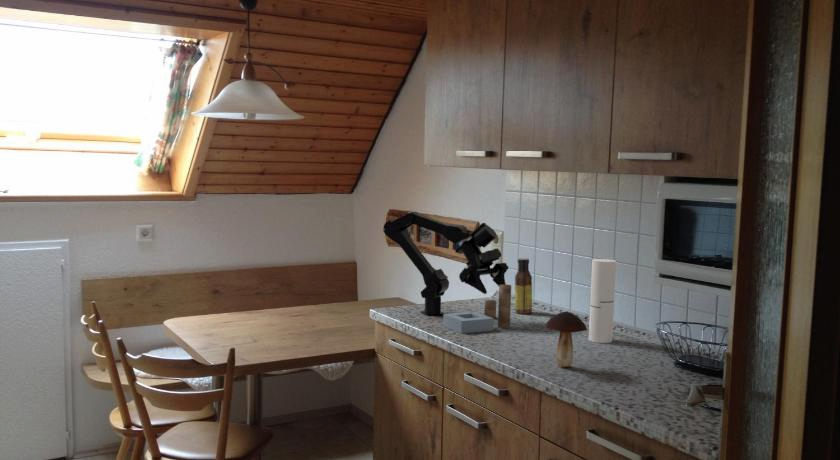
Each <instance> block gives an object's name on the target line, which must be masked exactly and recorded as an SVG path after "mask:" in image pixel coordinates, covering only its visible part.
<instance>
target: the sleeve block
mask: <svg viewBox="0 0 840 460" xmlns="http://www.w3.org/2000/svg"><path fill="white" fill-rule="evenodd" d="M442 319H443V321H442V322H443V323H442V327H445V328H447V329H449V330H452V331H454V332H457V333H459V334H469V333H479V332H482V333H483V332H489V331H490V332H491V331H494V325H495V322H494V321H495V320H494V318H491V317H489V316H486V315H484V313H480V312H477V311H463V312H453V313H452V312H451V313H450V312H449V313H444V314H443V316H442Z"/></svg>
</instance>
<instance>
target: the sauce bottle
mask: <svg viewBox="0 0 840 460" xmlns="http://www.w3.org/2000/svg"><path fill="white" fill-rule="evenodd" d="M517 263H518V265H517V266H518V267H517V268H518V269H517V272H516V273H515V276H514V277H515V278H514V282H515V283H514V310H515V313H517V314H521V315H522V314H523V315H529V314H532V311H533V309H532V308H533V283H532V281H533V277H532V274H531V272H530V270H529V269H530V268H529V263H530V259H529V258H524V257H520V258H519V257H518V258H517Z"/></svg>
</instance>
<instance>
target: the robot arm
mask: <svg viewBox="0 0 840 460" xmlns="http://www.w3.org/2000/svg"><path fill="white" fill-rule="evenodd" d="M413 225H415V226H418V227H421V228H423V229H426V230H429V231H431V232H434V233H437V234H439V235H440V236H442V237H443V238H444V239H446V240H448V241H449V242H451V243H453V244H458V243H461V244H460V245H456V248H455V253H456V254H460V255H462V254H463V256H464V258H465V259H466V261H467V262H466V266H465V267H464V268H463V269H462V270H461V272H460V273H459V277H458V278H459V280H460V282H461V283H464V284H467V285H469V286H471V287H473V288H474V289H476V290H477V291H479V292H481V293H482V294H484V295H486V294H488V291H487V289H486V286H485V285H484V283H483V281H482V279H481V276H486V275H489V276H490V278H492V281H493V282H494V283H495V284H496V285H497V286H498V287H499V285H502V284H506V279H505V274H506V273H507V272H508V269H509V265H507V263H506V262H497V263H495V265H493V264H494V262H495V261H498V260H500V258H501V257H502V253H501V250H500V249H499V248H493V249H491V250H487V251H484V252H482V250H481V249H480V248H486V247H487V246H489V245H490V244H491V242H493V241H494V240H495V239H497V237H498V234H497V233H496V231H495V230H494V228H492V227H491V226H489V225H488V224H486V223H485V222H482V223H481V224H479V226H478V227H477V228H476V229H475V230H470V229H468V228H467V227H466V226H464V225H460V224H456V223H447V222H442V221H440V220H437V219H435V218H432V217H429V216H426V215H424V214H420V213H418V212H417V211H409V212H407V213H406V214H405V215H403V216H400V217H397V218H396V219H392V220H387V221H386V222H385V223H384V224H383V229H382V230H383V233H384V235H385V236H386V237H388V239H390V240H391V241H392V242H394V243H395V244H396V245H397V244H398V246H399V247H400V249H402V251H403V252H404V253H405V255H406V257H408V259H409V260H410V262H412V264H413V266H415V267H416V268H417V270H418V272H419V274H421V275H422V278H423V279H422V280H423V282H424V285H425V287H424V288H423V289H422V290H421V291H420V296H421V299H424V310H421V311H420V313H422V314H423V315H426V316H442V315H443V314H445V312H443V311H441V310H442V297H443V296H444V295H445V293H446V291H447V290H448V289H449V286H450V281H449V279H448V278H449V276H448V275H446V274H445V272H444V270H443V269H442V268H439V269H436V268H434V267H433V266H432V264H431V263H430V262H429V261H428V259H427V258H426V257H425V255H424V254H423V253H422V252H421V250H420V249H419V248H418V247H417V244H415V243H414V241H413V240H412V239H411V237H410V234H409V228H410V227H412V226H413ZM492 265H493V267H491V266H492Z"/></svg>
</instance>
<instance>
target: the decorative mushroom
mask: <svg viewBox="0 0 840 460" xmlns="http://www.w3.org/2000/svg"><path fill="white" fill-rule="evenodd" d="M545 328H546V329H548V330H553V331H556V332H557V331H558V332H559V337H558V342H557V347H556V348H557V349H556V351H557V352H556V363H557V364H558V365H559V366H560V367H562V368H568V367H571V365H572V364H573V359H574V357H573V356H574V348H573V347H574V346H573V338H572V337H573V335H572V334H573V333H577V332H578V333H581V332H585V331H588V329H587V326H586V324H585V323H584V321H583V320H582V319H581V318H580V317H578V316H577V315H576V314H574V313H572V312H569V311H562V312H559V313H557V314H555V315H553V316H551V318H549V319H548V321H547V322H546V323H545Z"/></svg>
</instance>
